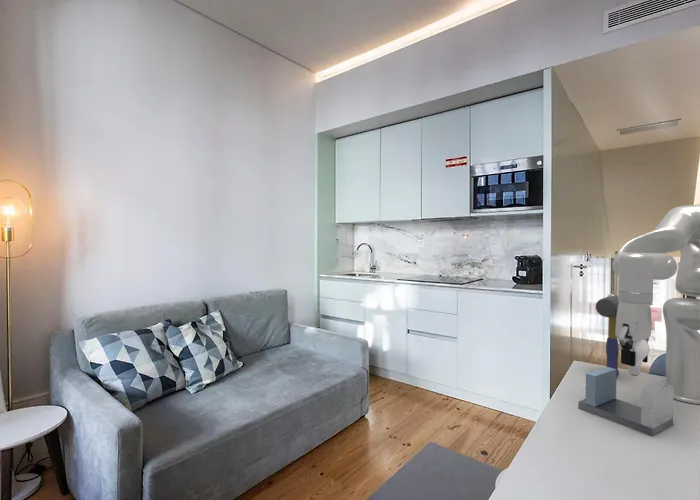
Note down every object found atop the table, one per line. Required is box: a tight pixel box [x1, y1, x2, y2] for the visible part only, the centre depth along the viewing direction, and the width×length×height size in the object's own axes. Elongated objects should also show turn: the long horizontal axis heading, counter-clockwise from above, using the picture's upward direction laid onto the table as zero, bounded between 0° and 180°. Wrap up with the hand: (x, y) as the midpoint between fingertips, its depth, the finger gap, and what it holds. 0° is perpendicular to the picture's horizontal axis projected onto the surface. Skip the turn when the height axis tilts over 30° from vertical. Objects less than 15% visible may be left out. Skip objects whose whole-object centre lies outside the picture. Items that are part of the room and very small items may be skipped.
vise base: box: [577, 381, 675, 437], centre depth 101 cm, size 12×18×11 cm, turn 29°
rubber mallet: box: [595, 295, 620, 379], centre depth 130 cm, size 12×8×30 cm, turn 124°
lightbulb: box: [619, 337, 650, 377], centre depth 98 cm, size 6×6×11 cm
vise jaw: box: [585, 366, 617, 407], centre depth 106 cm, size 12×2×9 cm, turn 119°
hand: (634, 362), depth 98 cm, fingers closed on lightbulb, 6 cm apart
